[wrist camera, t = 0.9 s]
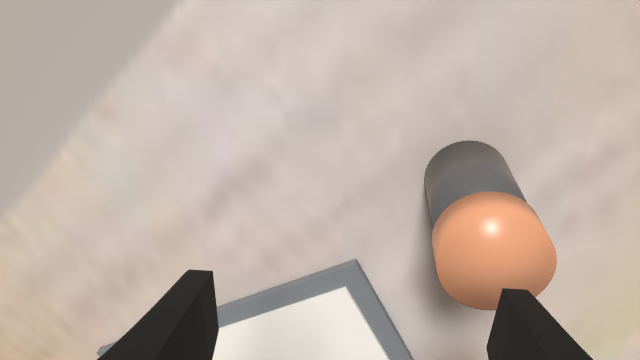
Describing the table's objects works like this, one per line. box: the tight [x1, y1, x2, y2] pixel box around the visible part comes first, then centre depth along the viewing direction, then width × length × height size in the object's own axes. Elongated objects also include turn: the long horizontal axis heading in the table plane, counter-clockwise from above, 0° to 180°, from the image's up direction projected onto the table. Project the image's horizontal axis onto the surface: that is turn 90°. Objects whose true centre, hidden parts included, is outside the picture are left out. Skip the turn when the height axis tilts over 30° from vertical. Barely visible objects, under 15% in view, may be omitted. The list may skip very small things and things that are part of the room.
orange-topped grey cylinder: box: [424, 141, 557, 310], centre depth 18 cm, size 4×4×6 cm
